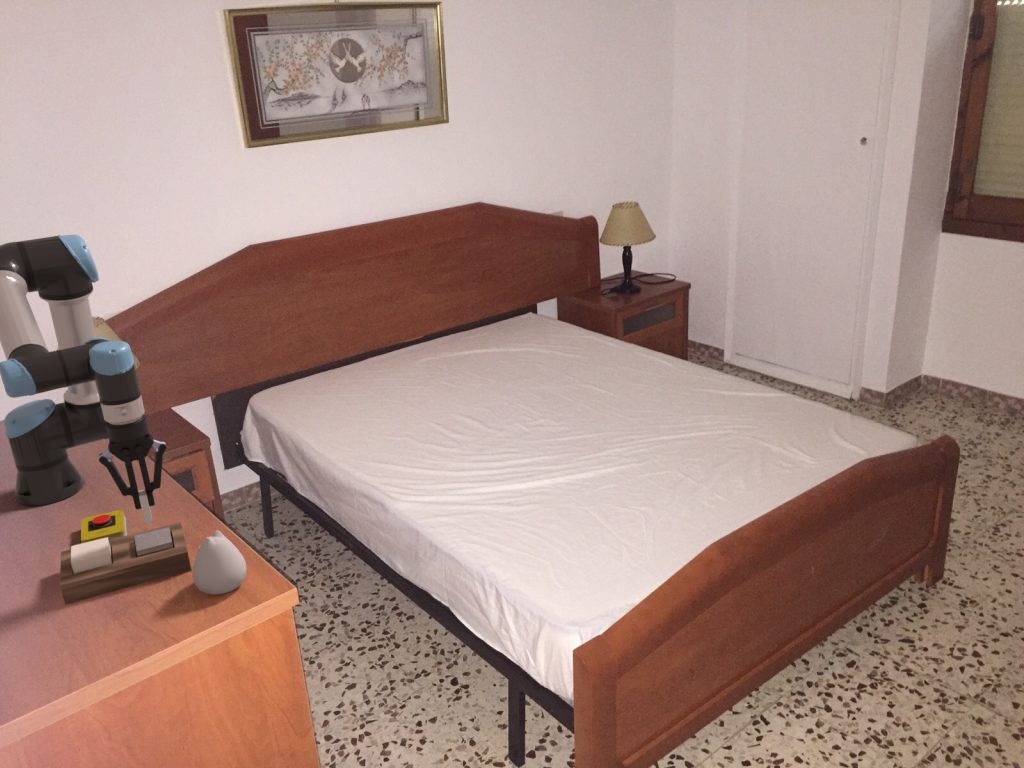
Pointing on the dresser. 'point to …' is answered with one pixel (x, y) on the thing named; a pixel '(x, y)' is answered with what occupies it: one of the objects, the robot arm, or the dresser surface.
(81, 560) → the cream key
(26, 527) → the dresser surface
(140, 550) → the steel key
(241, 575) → the toy character
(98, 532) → the emergency button
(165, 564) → the brown wooden flat block
